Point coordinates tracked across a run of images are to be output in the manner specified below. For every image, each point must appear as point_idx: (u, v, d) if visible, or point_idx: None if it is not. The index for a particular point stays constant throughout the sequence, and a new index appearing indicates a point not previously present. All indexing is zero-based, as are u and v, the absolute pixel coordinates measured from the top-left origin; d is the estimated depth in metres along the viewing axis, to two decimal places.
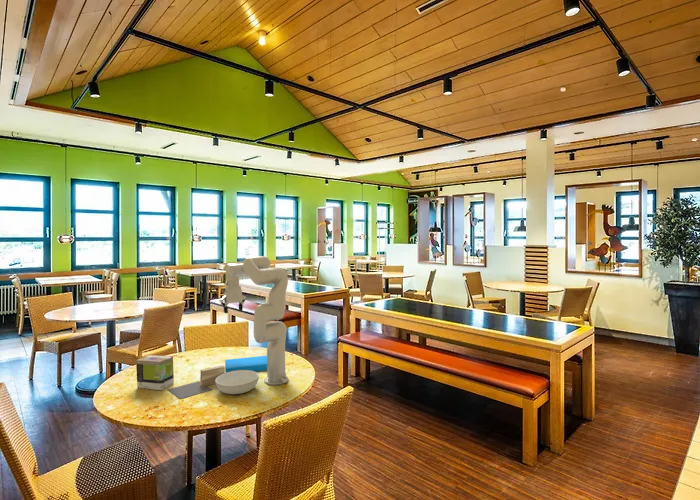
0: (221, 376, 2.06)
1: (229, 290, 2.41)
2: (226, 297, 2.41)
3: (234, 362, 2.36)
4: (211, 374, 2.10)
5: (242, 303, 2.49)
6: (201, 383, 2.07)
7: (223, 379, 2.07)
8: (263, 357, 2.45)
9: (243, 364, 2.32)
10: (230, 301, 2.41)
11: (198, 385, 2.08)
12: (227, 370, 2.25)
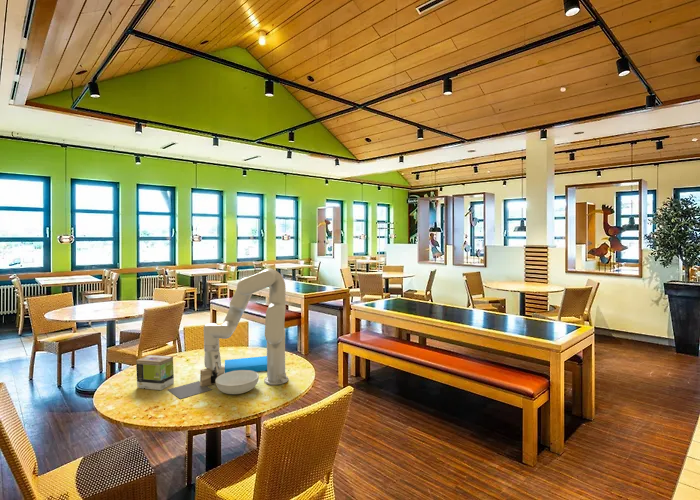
0: (221, 376, 2.06)
1: None
2: (219, 366, 2.09)
3: (234, 362, 2.35)
4: None
5: None
6: (201, 383, 2.07)
7: (223, 379, 2.07)
8: (263, 357, 2.44)
9: (242, 364, 2.32)
10: None
11: (198, 385, 2.08)
12: (226, 370, 2.25)
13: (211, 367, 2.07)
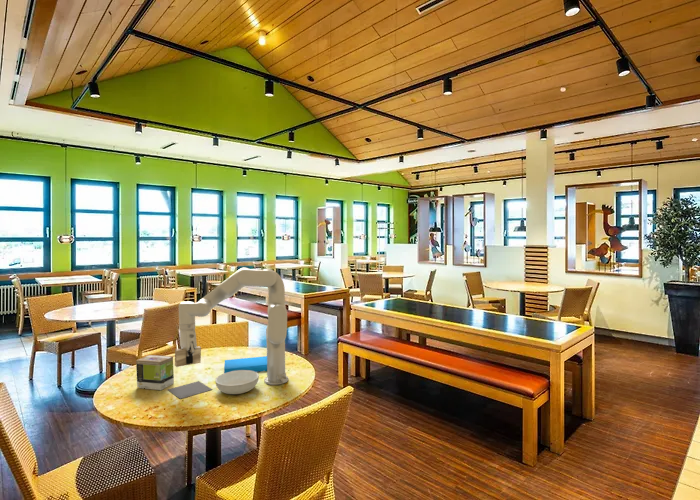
0: (221, 376, 2.06)
1: None
2: (194, 346, 2.00)
3: (233, 362, 2.35)
4: (186, 354, 2.01)
5: None
6: (175, 363, 1.99)
7: (223, 379, 2.07)
8: (263, 358, 2.43)
9: (242, 364, 2.31)
10: None
11: (198, 385, 2.08)
12: (226, 370, 2.25)
13: (186, 347, 1.99)
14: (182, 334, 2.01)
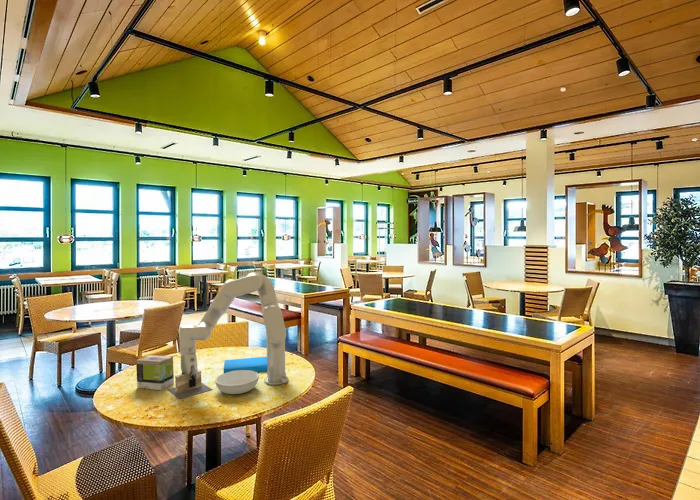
0: (221, 376, 2.06)
1: None
2: (195, 367, 2.01)
3: (233, 363, 2.35)
4: (187, 380, 2.02)
5: None
6: (176, 389, 1.99)
7: (223, 379, 2.07)
8: (263, 358, 2.43)
9: (242, 365, 2.31)
10: None
11: None
12: (225, 371, 2.24)
13: (187, 370, 1.99)
14: (183, 358, 2.01)
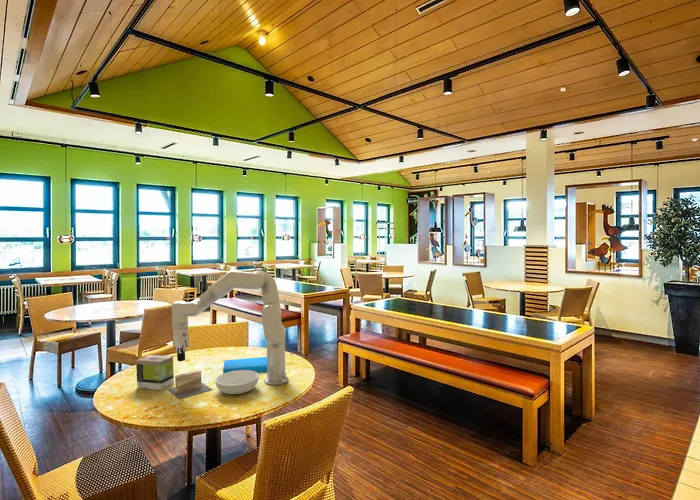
0: (221, 376, 2.06)
1: None
2: (187, 345, 2.07)
3: (233, 363, 2.34)
4: (187, 380, 2.02)
5: None
6: (176, 389, 1.99)
7: (223, 379, 2.07)
8: (263, 358, 2.42)
9: (241, 365, 2.31)
10: None
11: None
12: (225, 371, 2.24)
13: (179, 345, 2.05)
14: (175, 333, 2.07)
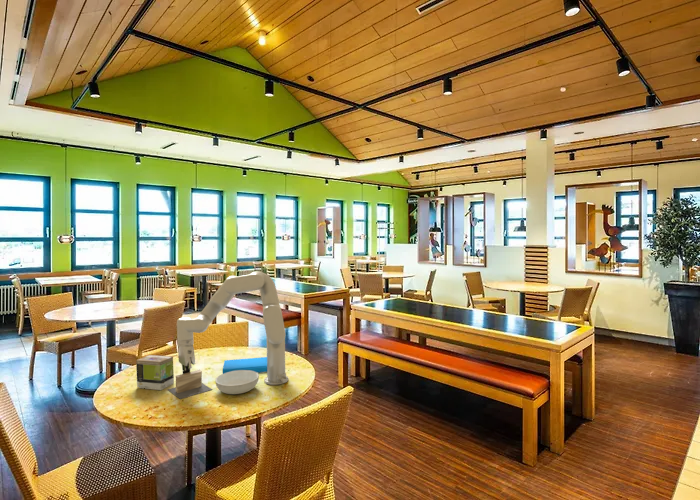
0: (221, 376, 2.06)
1: None
2: (192, 363, 2.03)
3: (233, 363, 2.34)
4: (187, 380, 2.01)
5: None
6: (176, 389, 1.99)
7: (223, 379, 2.07)
8: (263, 358, 2.42)
9: (241, 365, 2.30)
10: None
11: None
12: (224, 371, 2.24)
13: (184, 362, 2.01)
14: (180, 350, 2.03)
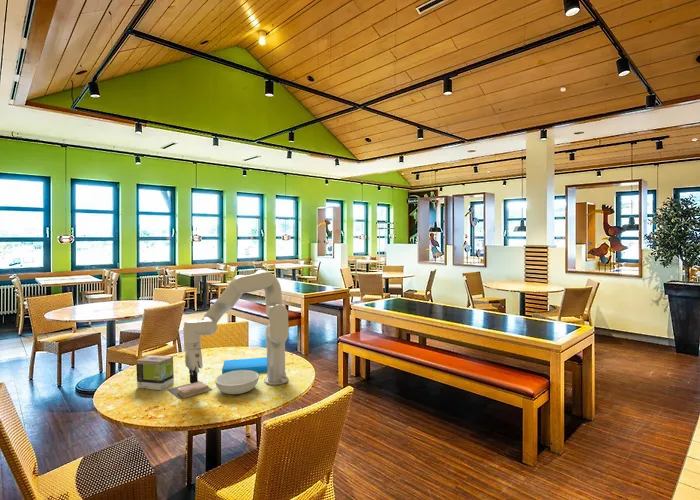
0: (221, 376, 2.06)
1: None
2: (200, 367, 1.97)
3: (232, 363, 2.34)
4: None
5: None
6: (178, 391, 1.98)
7: (223, 379, 2.07)
8: (262, 359, 2.41)
9: (241, 365, 2.30)
10: None
11: None
12: (224, 371, 2.24)
13: (192, 366, 1.95)
14: (187, 353, 1.97)
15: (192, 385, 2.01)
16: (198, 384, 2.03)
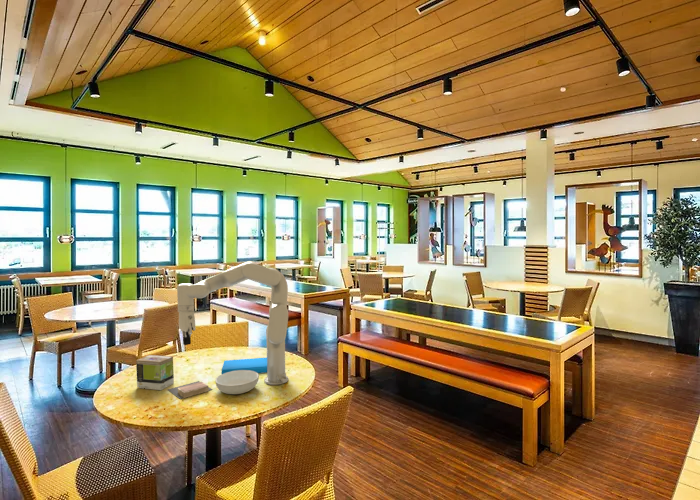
0: (221, 376, 2.06)
1: None
2: (193, 329, 2.01)
3: (232, 363, 2.34)
4: None
5: None
6: (178, 391, 1.98)
7: (223, 379, 2.07)
8: (262, 359, 2.41)
9: (240, 366, 2.29)
10: None
11: None
12: (223, 371, 2.23)
13: (185, 328, 1.99)
14: (181, 316, 2.01)
15: (192, 385, 2.01)
16: (198, 384, 2.03)
